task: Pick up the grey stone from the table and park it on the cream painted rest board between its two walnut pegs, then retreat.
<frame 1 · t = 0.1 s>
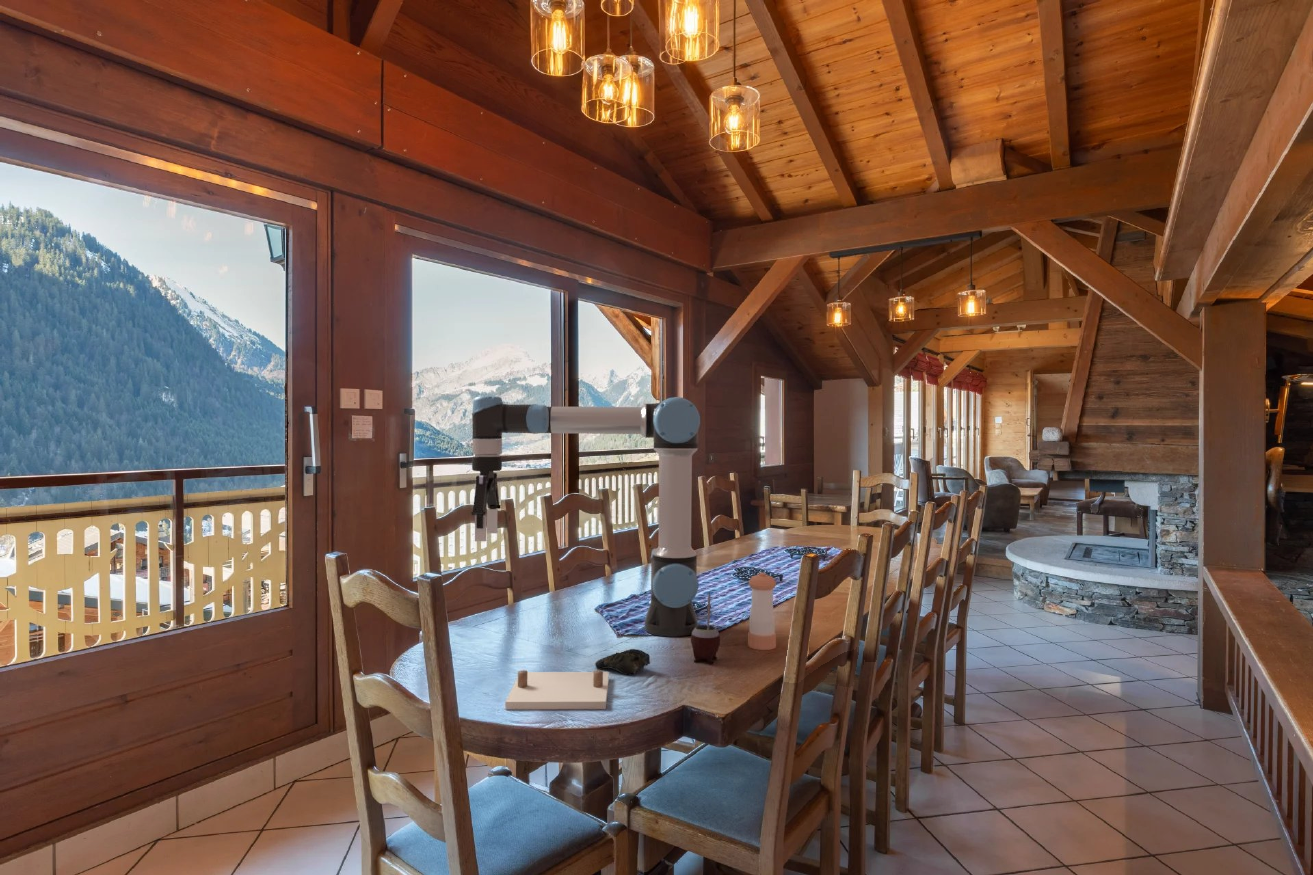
hand: (486, 537, 178), 28 cm above the table, fingers open, 13 cm apart
rest board: (560, 692, 145), on the table
pepper shaker: (761, 646, 178), on the table
stone: (622, 671, 159), on the table
mate gourd: (705, 660, 167), on the table
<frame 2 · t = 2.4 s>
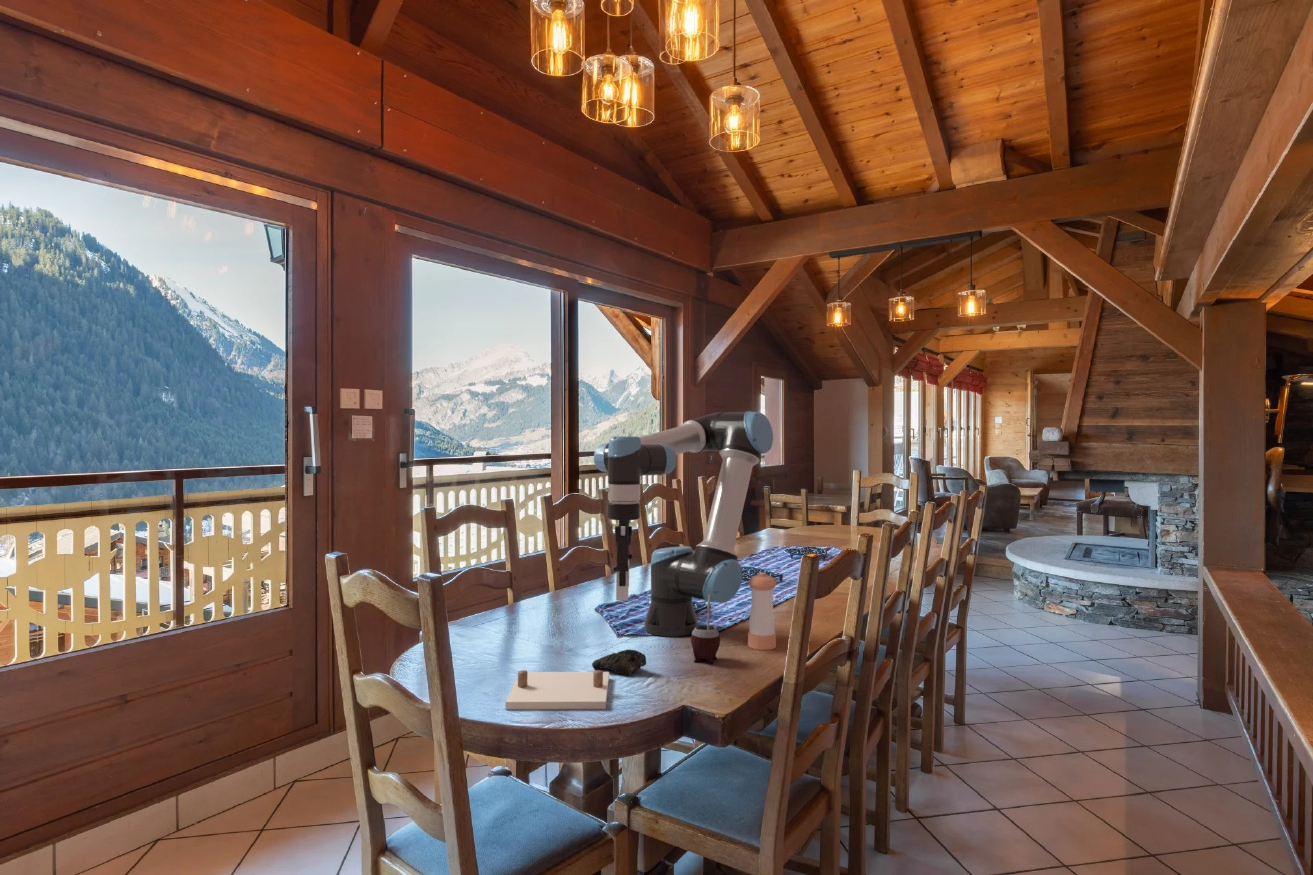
hand: (622, 593, 159), 18 cm above the table, fingers open, 13 cm apart
nothing on the table moved.
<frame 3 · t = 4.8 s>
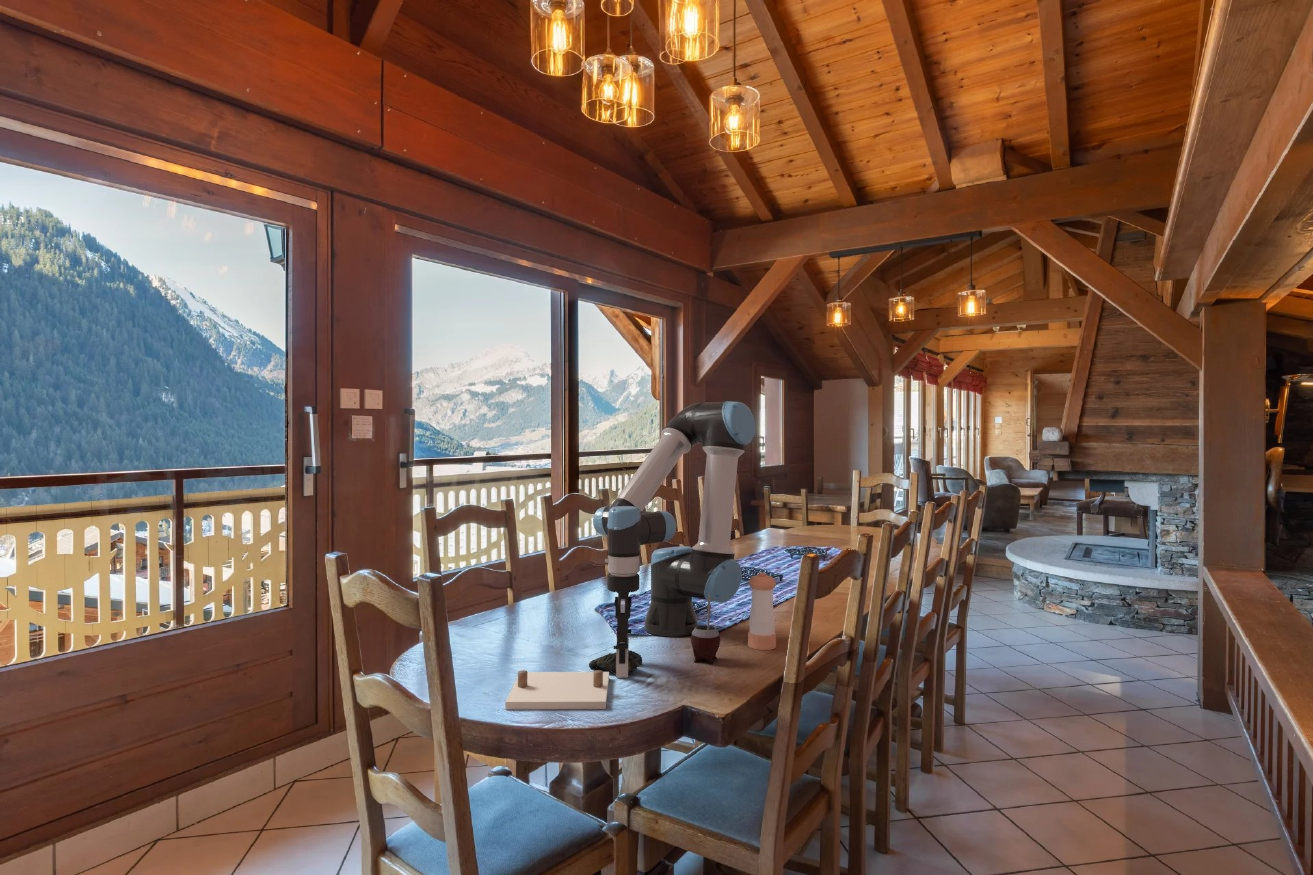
hand: (622, 669, 159), 0 cm above the table, fingers open, 9 cm apart
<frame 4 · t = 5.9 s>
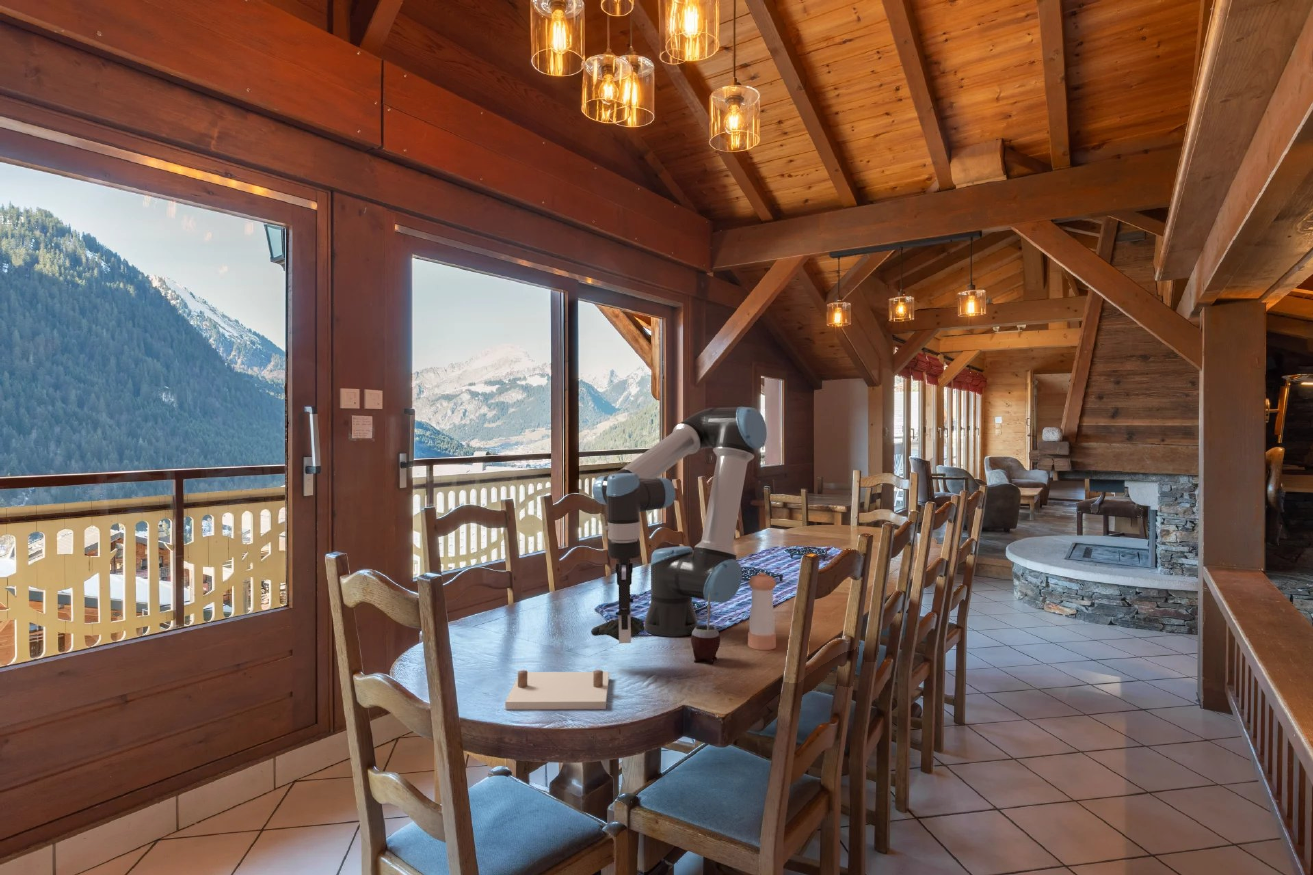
hand: (625, 636, 160), 8 cm above the table, fingers closed on stone, 8 cm apart
stone: (617, 638, 160), point 7 cm above the table, touching gripper
everything else where it was.
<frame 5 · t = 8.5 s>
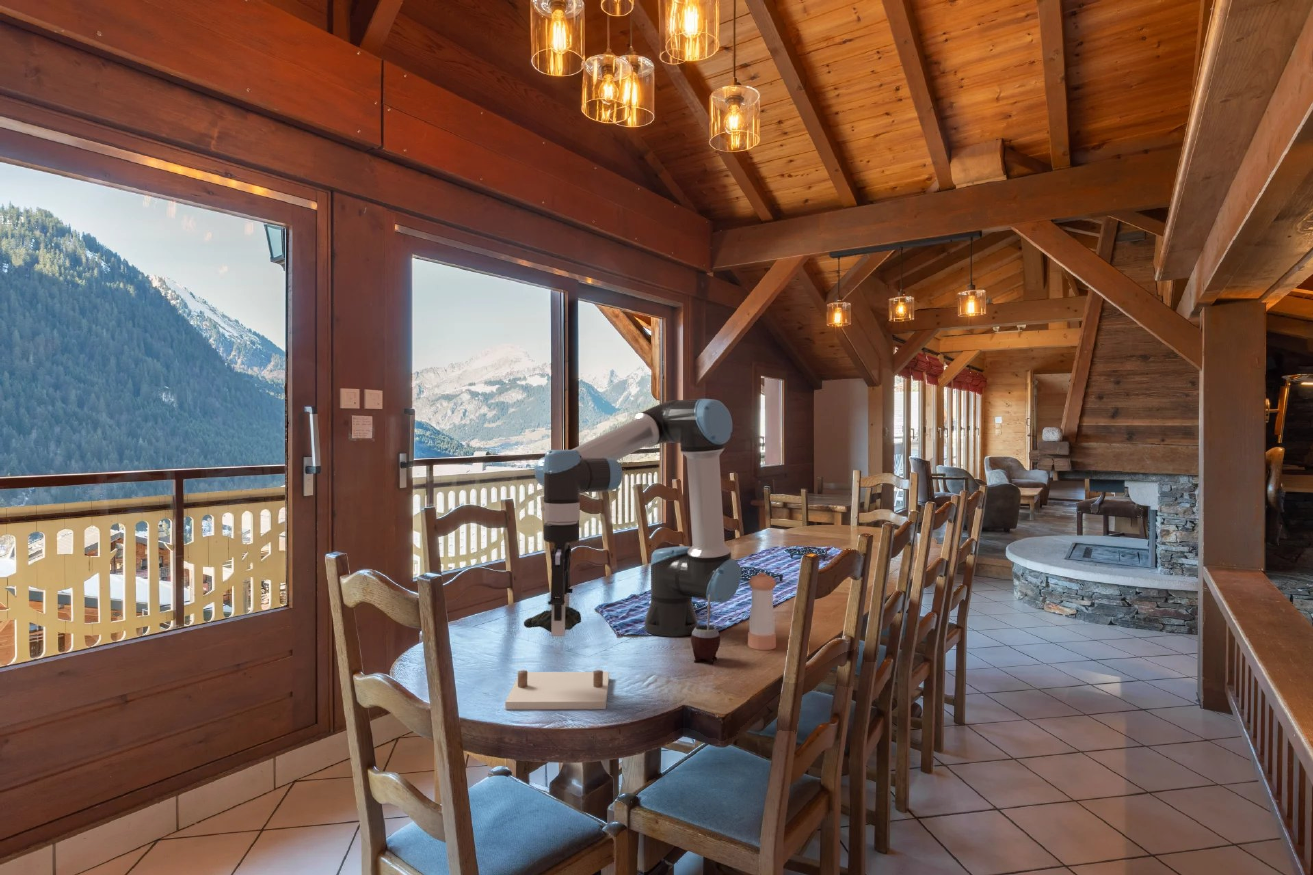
hand: (560, 629, 145), 14 cm above the table, fingers closed on stone, 8 cm apart
stone: (551, 631, 145), point 13 cm above the table, touching gripper
everything else where it was.
when the fingers open (3 cm above the table, at t = 11.1 s): stone drops 1 cm, resting on rest board.
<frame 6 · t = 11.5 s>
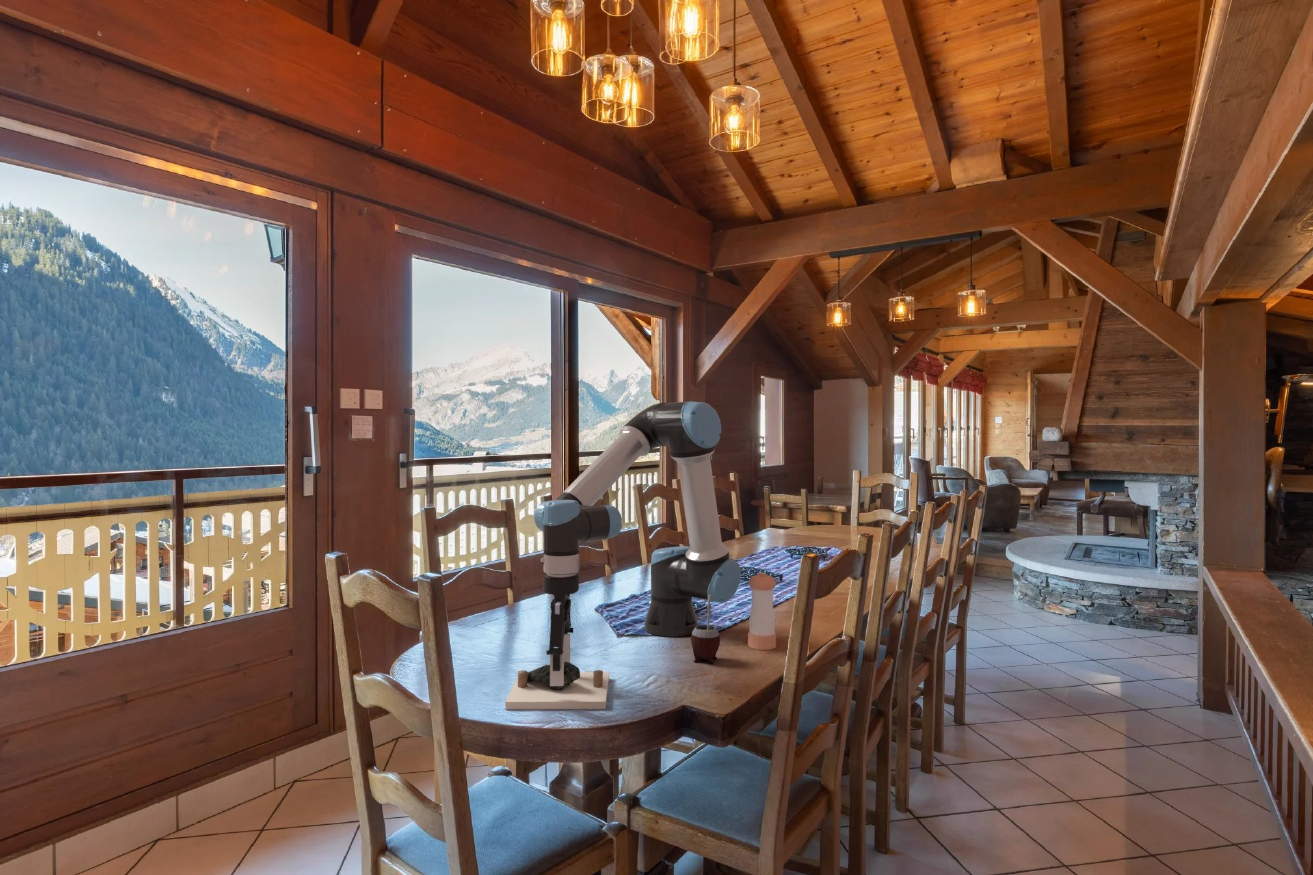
hand: (560, 674, 145), 4 cm above the table, fingers open, 12 cm apart
stone: (551, 686, 145), point 1 cm above the table, touching rest board
everything else where it was.
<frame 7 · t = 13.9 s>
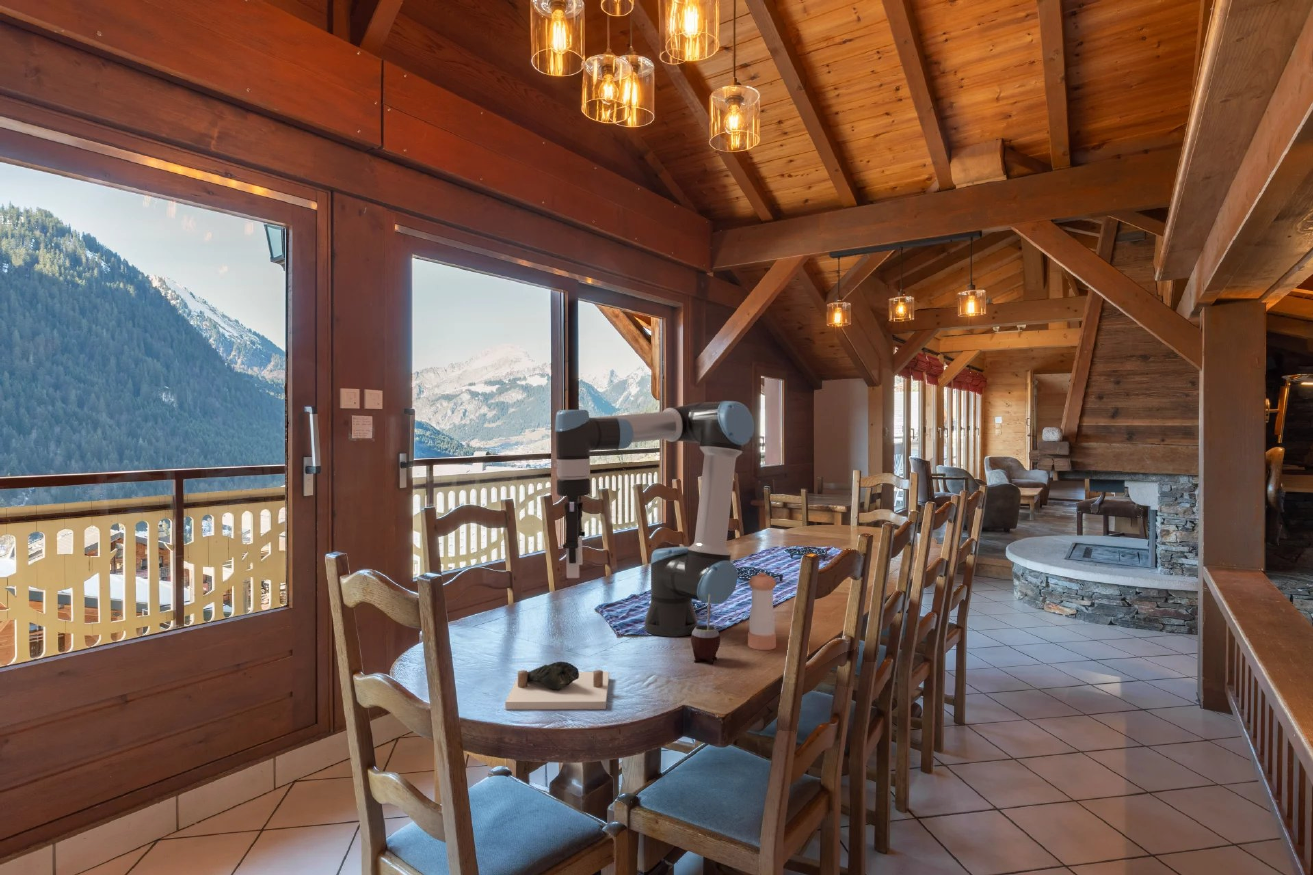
hand: (574, 570, 155), 24 cm above the table, fingers open, 13 cm apart
nothing on the table moved.
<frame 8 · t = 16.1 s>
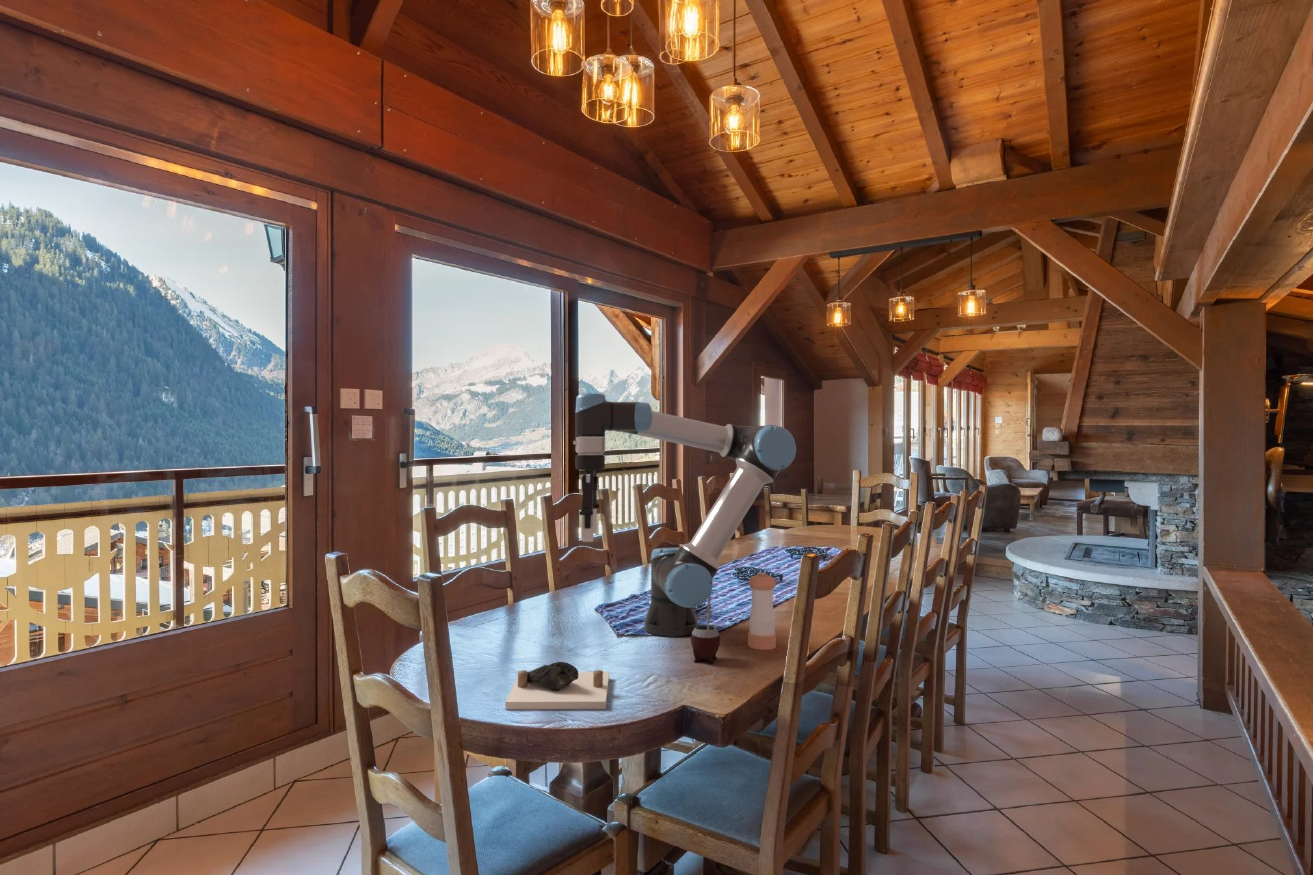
hand: (589, 537, 174), 29 cm above the table, fingers open, 13 cm apart
nothing on the table moved.
at the end: stone inside the target area on the rest board (2.3 cm from its centre), point 1.3 cm above the rest board's base; the gripper is holding nothing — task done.
